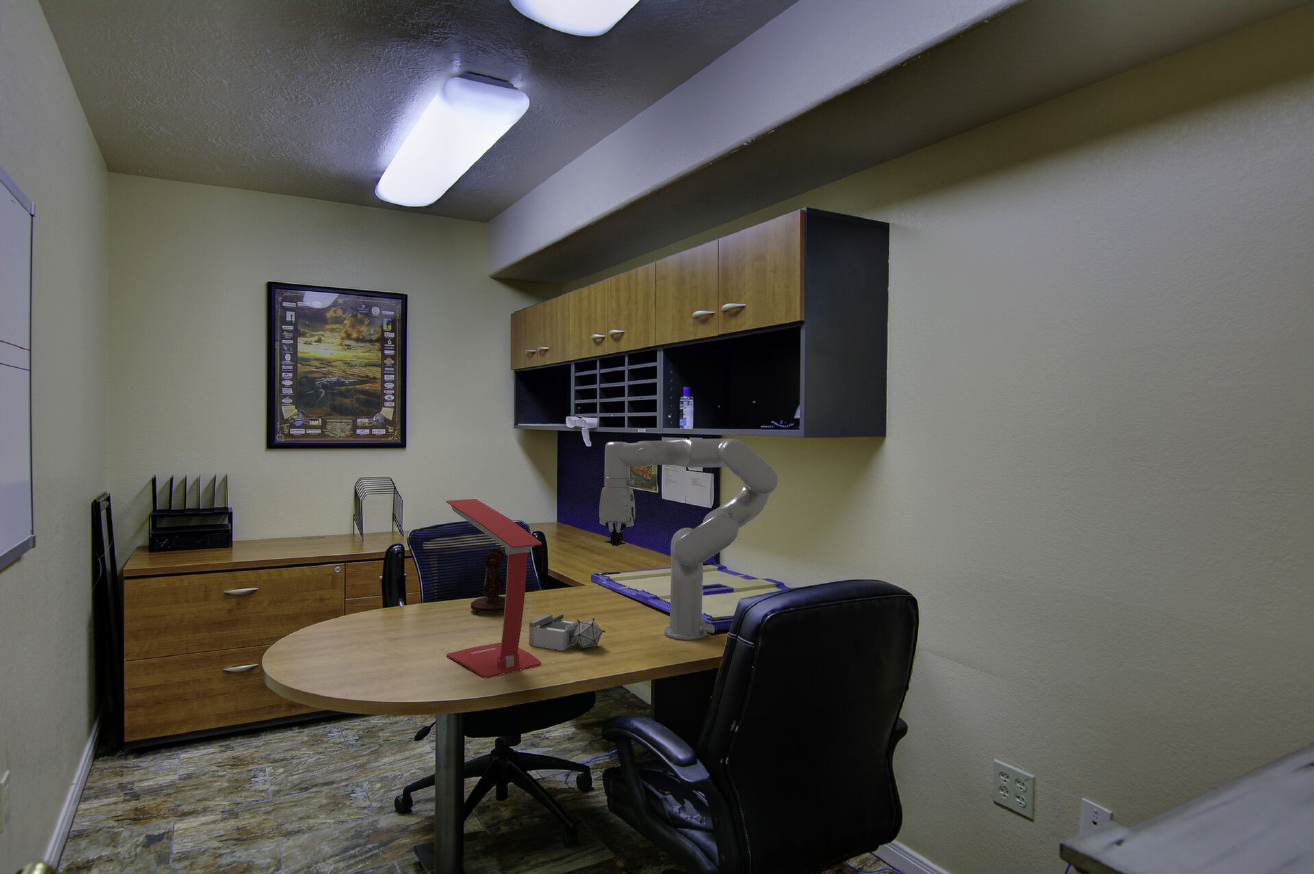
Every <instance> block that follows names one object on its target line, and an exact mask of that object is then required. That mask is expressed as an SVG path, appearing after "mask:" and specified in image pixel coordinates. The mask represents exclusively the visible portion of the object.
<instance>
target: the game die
mask: <svg viewBox="0 0 1314 874" xmlns="http://www.w3.org/2000/svg"><path fill="white" fill-rule="evenodd" d="M595 619H596V617H593V618H592V620H590V619H589V620H584V621H580V620H579V619H576V621H577V622H579V623H578V626H577V628H576V631H575V633H574V636H571V638H573V637H574V638H575V639H576V641H577V642H578V643H577V644H578V645H579V646H580V647H581V649H580V651H581V652H582V651H583V650H584V649H587V648H593V647H596V648H597V649H599V646H598V643H599V641H600V639H601V637H602V634H603V633H606V630H605V629H603V630H602V629H601V627H600V626H599V625H598V624H597V622H596V621H595Z"/></svg>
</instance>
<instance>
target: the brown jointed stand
mask: <svg viewBox="0 0 1314 874" xmlns="http://www.w3.org/2000/svg"><path fill="white" fill-rule="evenodd" d="M504 560H505V553H504V552H503V550H502V549H500V548H497V547H495V548H492V549H490V550H489V551H488V553H487V554H486V555H485V557H484V560H483V561H484V565H485V575H484V581H483V588H482V589H483V591H482V592H483V595H484V596H482V597H479V598H477V599H475V600H473V601H472V602H471V603H470V609H471V610H473V611H474V612H475V615H477V614H478V615H479V613H480V612H482V613H499V612H504V610H505V599H506V595H501V593H502V590H503V589H504V586H505V582H504V580H503V579H502V577H501V576H499V575H498V574H499V572H500V567H501V565H502V563H503V562H504ZM488 571H490V573H489V576H488ZM488 577H489V578H488ZM487 578H488V580H487Z"/></svg>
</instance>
